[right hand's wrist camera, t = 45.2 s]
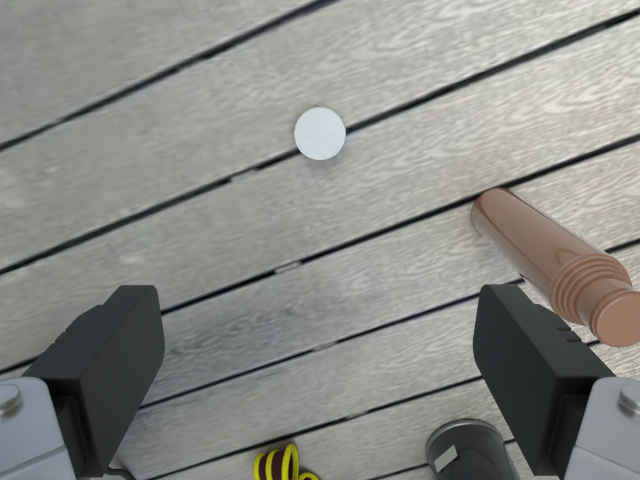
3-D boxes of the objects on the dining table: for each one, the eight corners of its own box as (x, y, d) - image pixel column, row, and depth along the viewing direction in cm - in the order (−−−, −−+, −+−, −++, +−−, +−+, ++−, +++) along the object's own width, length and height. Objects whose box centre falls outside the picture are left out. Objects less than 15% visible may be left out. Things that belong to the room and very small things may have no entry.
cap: (350, 150, 42) (351, 154, 41) (301, 162, 43) (301, 166, 41) (339, 100, 41) (339, 101, 39) (288, 113, 41) (287, 115, 40)
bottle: (464, 199, 44) (574, 301, 25) (514, 179, 43) (666, 269, 24) (478, 242, 46) (591, 369, 27) (527, 224, 45) (678, 341, 26)
